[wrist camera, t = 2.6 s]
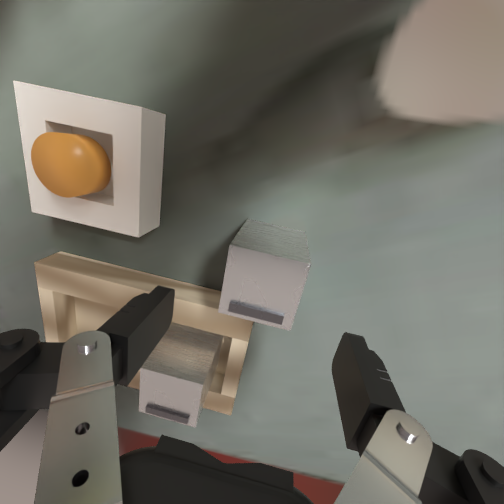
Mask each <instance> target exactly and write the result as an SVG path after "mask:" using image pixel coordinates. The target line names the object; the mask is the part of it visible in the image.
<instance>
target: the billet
mask: <svg viewBox="0 0 504 504" xmlns="http://www.w3.org/2000/svg"><path fill="white" fill-rule="evenodd" d="M222 340H223V335H220V334H216V333H212V332H208V331H204V330H201V329H197V328H193V327H189V326H185V325H181V324H178V323H174V322H172V324H171V325H170V327H169V329H168V330H167V332H166V333H165V334H164V336H163V337H162V339H161V340H160V341H159V343H158V344H157V346H156V347H155V348H154V350H153V351H152V353H151V354H150V355H149V357H148V358H147V360H146V361H145V362H144V364H143V365H142V367H141V368H140V393H139V411H140V412H143V413H147V414H150V415H153V416H157V417H160V418H164V419H167V420H171V421H174V422H178V423H181V424H185V425H188V426H192V427H195V428H196V426H197V423H198V420H199V417H200V414H201V411H202V409H203V406H204V403H205V400H206V397H207V394H208V391H209V389H210V386H211V383H212V380H213V377H214V374H215V371H216V369H217V366H218V361H219V356H220V351H221V346H222Z"/></svg>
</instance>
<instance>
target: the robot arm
mask: <svg viewBox="0 0 504 504" xmlns="http://www.w3.org/2000/svg"><path fill="white" fill-rule="evenodd" d="M174 298H175V290H174V289H172V288H168V287H164V286H160V285H158V286H157V287H155V288H154V289H153V290H152V291H151V292H150V293H149V294H147V293H142V294H140V295H138V296H136V297H133V298H132V299H131V300H130V301H129V302H128V303H127V304H126V305H124V306H123V307H122V308H121V309H120V311H118V312H116V313H115V314H114V315H113V316H112V317H111V318H110V319H109V320H107V321H106V322H105V323H104V324H103V325H102V326H101V327H99V328H98V329H97V330H96V331H86V332H82V333H79V334H76V335H74V336H73V337H71V338H70V339H68V340H67V341H66V342H40V339H39V334H38V333H37V332H36V331H34V330H31V329H15V330H10V331H7V332H3V333H1V334H0V451H1V450H2V449H3V448H4V447H5V446H6V445H7V444H8V443H9V442H10V441H11V440H12V438H13V437H14V436H15V435H16V434H17V433H18V432H19V431H20V430H21V429H22V428H23V426H24V425H25V424H26V423H27V422H28V421H29V420H30V419H31V418H32V417H33V416H34V415H35V413H36V412H37V411H38V410H39V409H49V413H48V420H47V426H46V432H45V438H44V444H43V450H42V457H41V463H40V469H39V476H38V482H37V489H36V494H35V501H34V504H313V502H312V501H311V500H310V499H309V498H308V497H307V496H306V495H304V494H303V493H302V492H301V491H299V490H298V489H297V488H295V487H294V486H293V472H290V471H286V470H283V469H279V468H276V467H272V466H269V465H265V464H262V463H235V464H226V463H222V462H221V461H219V460H218V459H216V458H214V457H213V456H211V455H210V454H208V453H207V452H205V451H204V450H202V449H200V448H199V447H197V446H196V445H194V444H192V443H189V442H185V441H182V440H178V439H175V438H171V437H168V436H164V435H161V437H160V440H159V442H158V444H157V446H156V447H155V446H153V447H145V448H140V449H137V450H133V451H131V452H129V453H126V454H124V455H122V456H120V457H119V446H118V432H117V417H116V402H115V388H114V387H115V386H116V385H117V384H120V385H124V386H128V385H129V383H130V382H131V381H132V379H133V378H134V376H135V375H136V374H137V372H138V371H139V369H140V368H141V367H142V365H143V364H144V362H145V361H146V360H147V358H148V357H149V355H150V354H151V353H152V351H153V350H154V348H155V347H156V346H157V344H158V343H159V341H160V340H161V339H162V337H163V336H164V334H165V333H166V332H167V330H168V329H169V327H170V324H171V322H172V318H173V309H174ZM332 375H333V380H334V385H335V390H336V395H337V400H338V405H339V410H340V415H341V420H342V426H343V431H344V436H345V441H346V446H347V449H351V450H355V451H358V452H359V455H360V459H359V461H358V463H357V464H356V466H355V468H354V470H353V471H352V473H351V475H350V477H349V478H348V480H347V482H346V484H345V485H344V487H343V489H342V491H341V492H340V494H339V496H338V498H337V500H336V501H335V503H334V504H504V467H503V466H502V465H500V464H499V463H498V462H497V461H495V460H494V459H492V458H491V457H489V456H488V455H486V454H484V453H482V452H480V451H477V450H472V449H469V450H466V451H465V452H464V453H463V454H462V456H461V457H459V456H457V455H455V454H454V453H452V452H450V451H448V450H446V449H444V448H442V447H441V446H439V445H437V444H435V443H434V442H432V440H431V438H430V435H429V434H428V432H427V431H426V429H425V428H424V427H423V426H422V425H421V424H420V423H419V422H418V421H417V420H416V419H415V418H413V417H412V416H411V415H409V414H407V413H406V412H405V409H404V407H403V405H402V403H401V401H400V398H399V396H398V394H397V392H396V390H395V388H394V385H393V383H392V382H391V379H390V377H389V374H388V373H387V370H386V368H385V366H384V363H383V361H382V360H381V359H380V358H379V357H378V355H377V354H376V353H375V352H374V351H372V350H369V349H368V347H367V344H366V342H365V339H364V337H362V336H359V335H355V334H351V333H347V332H345V333H344V334H343V336H342V338H341V341H340V343H339V346H338V348H337V351H336V353H335V356H334V358H333V362H332Z"/></svg>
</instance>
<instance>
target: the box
mask: <svg viewBox="0 0 504 504" xmlns="http://www.w3.org/2000/svg"><path fill="white" fill-rule="evenodd" d="M13 82H14V89H15V96H16V103H17V110H18V117H19V124H20V131H21V138H22V145H23V152H24V159H25V166H26V173H27V180H28V187H29V195H30V202H31V209H32V212H35V213H39V214H43V215H47V216H51V217H56V218H60V219H64V220H68V221H72V222H76V223H80V224H85V225H89V226H93V227H97V228H101V229H105V230H110V231H114V232H118V233H122V234H126V235H130V236H134V237H141V236H142V235H144V234H146V233H148V232H150V231H151V230H153V229H155V228H157V227H159V226H160V210H161V192H162V174H163V156H164V138H165V121H166V114H163V113H160V112H156V111H153V110H150V109H147V108H143V107H140V106H135V105H130V104H125V103H120V102H115V101H111V100H106V99H101V98H96V97H91V96H86V95H81V94H77V93H72V92H67V91H62V90H57V89H52V88H48V87H43V86H38V85H33V84H28V83H23V82H19V81H14V80H13ZM47 132H58V133H69V134H80V135H85V136H88V137H91V138H92V139H94V140H95V141H97V142H98V143H99V144H100V145H101V146H102V147H103V149H104V150H105V152H106V153H107V155H108V158H109V160H110V164H111V178H110V181H109V183H108V185H107V186H106V187H105V188H104V189H103V190H102V191H100V192H96V193H91V194H86V195H81V196H76V197H70V198H66V197H61V196H58V195H56V194H54V193H52V192H51V191H49V190H48V189H47V188H46V187H45V186H44V185H43V184H42V183H41V181H40V180H39V179H38V177H37V175H36V173H35V171H34V169H33V166H32V161H31V149H32V146H33V143H34V141H35V140H36V138H37V137H39V136H40V135H41V134H44V133H47Z"/></svg>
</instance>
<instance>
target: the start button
mask: <svg viewBox="0 0 504 504" xmlns="http://www.w3.org/2000/svg"><path fill="white" fill-rule="evenodd" d="M31 161H32V166H33V169H34V171H35V173H36V175H37V177H38V179H39V180H40V181H41V183H42V184H43V185H44V186H45V187H46V188H47V189H48V190H49V191H51V192H52V193H54V194H56V195H58V196H61V197H66V198H70V197H76V196H81V195H86V194H91V193H96V192H100V191H102V190H103V189H104V188H105V187H106V186H107V185H108V183H109V181H110V178H111V164H110V160H109V158H108V155H107V153H106V152H105V150H104V149H103V147H102V146H101V145H100V144H99V143H98V142H97V141H95V140H94V139H92V138H91V137H88V136H85V135H80V134H69V133H58V132H47V133H44V134H41V135H40V136H39V137H37V138H36V140H35V141H34V143H33V146H32V149H31Z"/></svg>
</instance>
